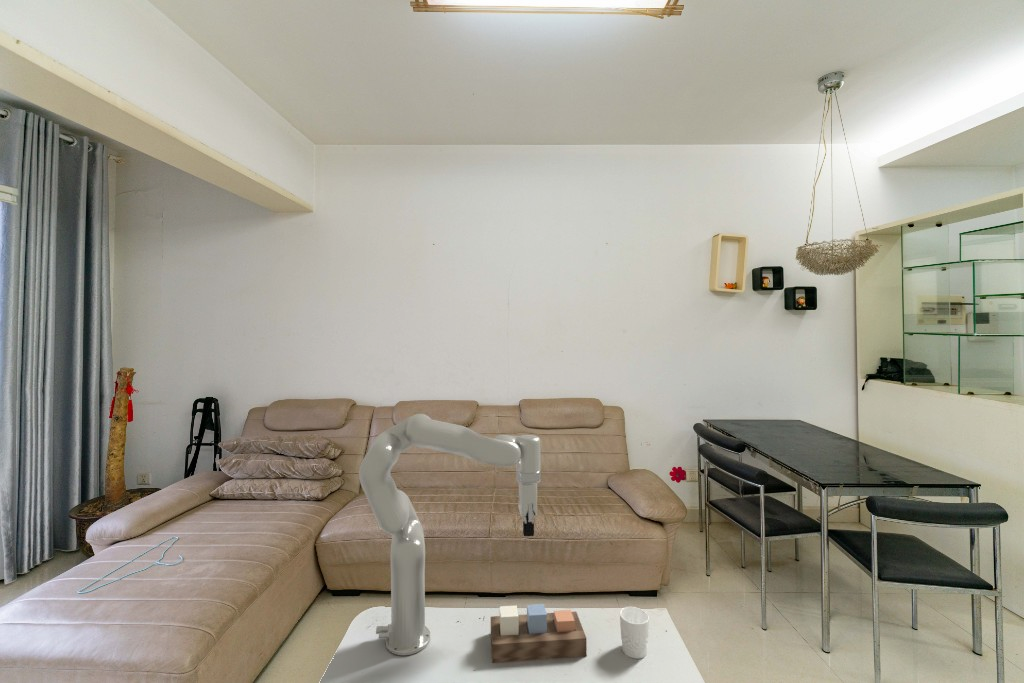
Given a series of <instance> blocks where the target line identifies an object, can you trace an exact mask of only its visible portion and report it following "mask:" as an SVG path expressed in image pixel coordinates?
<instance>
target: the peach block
mask: <svg viewBox="0 0 1024 683" xmlns="http://www.w3.org/2000/svg"><path fill="white" fill-rule="evenodd" d="M572 612H573V611H572V610H571V609H562V610H553V613H554V626H555V629H556V632H569V631H575V620H574V618H573V615H572Z"/></svg>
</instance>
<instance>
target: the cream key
mask: <svg viewBox="0 0 1024 683" xmlns="http://www.w3.org/2000/svg"><path fill="white" fill-rule="evenodd" d="M518 615H519V612H518V605H502V606H499V616H500V635H501V636H507V635H519V616H518Z"/></svg>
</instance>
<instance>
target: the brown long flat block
mask: <svg viewBox="0 0 1024 683" xmlns="http://www.w3.org/2000/svg"><path fill="white" fill-rule="evenodd" d="M571 612H572V615H573V618H574V620H575V631H569V632H556V629H555V626H554V612H548V613H547V612H546V614H547V633H538V634H529V633H528V628H527V613H526V614H518V616H519V635H507V636H501V635H500V615H497V616H495V615H494V616H490V645H491V662H492V664H493V663H509V662H512V663H513V662H525V661H537V660H538V661H539V660H540V661H541V660H553V659H566V658H580V657H581V658H582V657H587V643H588V642H587V636H586V633H585V630H584V629H583V625H582V623H581V620H580V618H579V615H578V613H577V611H571Z"/></svg>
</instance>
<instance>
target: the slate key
mask: <svg viewBox="0 0 1024 683" xmlns="http://www.w3.org/2000/svg"><path fill="white" fill-rule="evenodd" d="M546 613H547V609H546V607H545V604H544V603H535V604H534V603H533V604H527V605H526V614H527V628H528V633H529V634H538V633H547V614H546Z"/></svg>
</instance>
